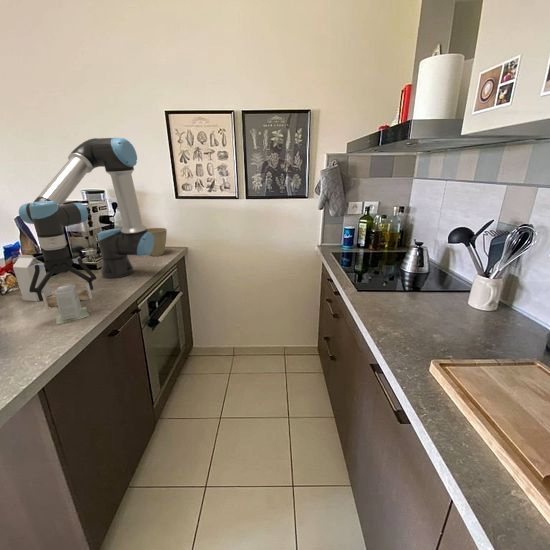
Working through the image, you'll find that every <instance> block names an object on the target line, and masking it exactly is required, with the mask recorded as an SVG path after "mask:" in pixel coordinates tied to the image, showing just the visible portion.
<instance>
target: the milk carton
mask: <svg viewBox="0 0 550 550" xmlns="http://www.w3.org/2000/svg"><path fill="white" fill-rule="evenodd" d="M36 263H38V264H44V262H43V261H41V260H38V259H37V258H36V257H34V255H33V254H32V255H29V254H28V255H27V254H18V258H17V260H16V261H15V263H14V265H12V268H13V271H14V274H15V275H14V276H15V278H16V280H17V284H18V287H19V291H20V293H21V297H22V300H23V301H27V302H40V300H39V298H38V295H37V293H36V292H32V293H31V292H29V288H30V285H31V282H32V279H33V275H34V272H35V264H36ZM46 274H47V271H46V268H45V267H43V269H42V270H40V273H39V276H38V279H37V283H36V286H35V288H37V287H38V286H39V284H40V283H41V281H42V280H43V278H44V277H45V275H46ZM49 282H50V281H48V282H47V283H46V285H45V286H44V288H43V289H42V290H44V293H45V296H46V298H48V297H52V295H53V294H52V290H51V289H52V288H51V286H50V283H49Z"/></svg>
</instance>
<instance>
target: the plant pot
mask: <svg viewBox="0 0 550 550" xmlns="http://www.w3.org/2000/svg"><path fill="white" fill-rule="evenodd" d="M167 230H168V229H167V228H164V227H153V228H151V227H150V228H147V232H150V233H152V235H153V236H154V247H153V250H152V251H151V253H150V254H149V255H150V256H152V257H159V256H162V255H164V252H165V249H166V242H167Z"/></svg>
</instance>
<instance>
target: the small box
mask: <svg viewBox="0 0 550 550" xmlns="http://www.w3.org/2000/svg"><path fill="white" fill-rule="evenodd" d="M77 291H78V289H77V285H76V284H71V285H64V286H63V285H62V286H58V287H57V289H56V291H55V294H54V296H55V297H56V301H57V304H58V306H57V308H58V310H59V313H60V315H61V319H62V321H63V320H68V319H74V318H79V316H80V313H81V309H82V308H83V307H82V305H81V301H80V300H79V296H78V292H77Z"/></svg>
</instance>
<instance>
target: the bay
mask: <svg viewBox="0 0 550 550" xmlns="http://www.w3.org/2000/svg"><path fill="white" fill-rule="evenodd" d="M77 292H78V296H79V300H82V301H86V300H89V294H88V290H87V289H83V290H77ZM46 299H47V303H48V306H49V307H50V308H54V307H53V306H55V307H58V304H57V301H56V297H55V295H54V296H52V295H51V296H49V297H46ZM85 299H86V300H85ZM81 308H82V309H81V313H80V316H79V318H74V319H68V320H63V321H62V319H61V315H60V312H58V313H55V320H56V324H57V326H59V325H63V324H66V323H65V322H67V323H70V322H69V321H71V322H73V320H75V321H78V320H77V319H79V320H81V318H83V319H85V318H84V317H87V318H90V317H89V316H90V314H89V311H88V309H87V306H84V307H81ZM62 323H63V324H62ZM58 324H59V325H58Z"/></svg>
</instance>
